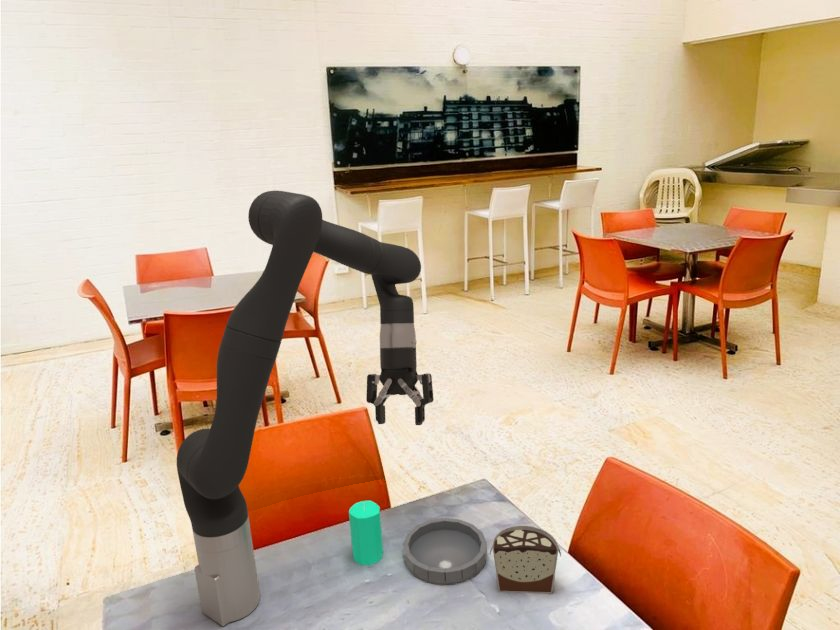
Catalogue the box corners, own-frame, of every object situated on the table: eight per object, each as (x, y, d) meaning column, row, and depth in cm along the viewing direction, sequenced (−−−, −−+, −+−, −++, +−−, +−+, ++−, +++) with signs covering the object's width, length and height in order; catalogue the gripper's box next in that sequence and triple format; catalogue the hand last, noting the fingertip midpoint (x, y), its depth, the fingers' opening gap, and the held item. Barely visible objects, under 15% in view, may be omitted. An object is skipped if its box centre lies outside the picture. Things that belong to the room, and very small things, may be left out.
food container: (556, 570, 111) (557, 524, 108) (560, 594, 105) (561, 546, 103) (490, 568, 113) (489, 522, 110) (490, 592, 107) (489, 544, 104)
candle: (364, 569, 114) (360, 515, 110) (347, 555, 118) (341, 502, 115) (389, 555, 117) (385, 502, 114) (371, 541, 122) (367, 489, 119)
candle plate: (458, 597, 106) (457, 584, 105) (387, 564, 115) (386, 551, 114) (501, 547, 118) (500, 535, 117) (434, 521, 127) (434, 509, 126)
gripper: (359, 347, 123) (361, 426, 122) (422, 345, 118) (424, 427, 117) (375, 346, 130) (377, 421, 129) (436, 344, 124) (438, 422, 124)
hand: (400, 424), depth 123 cm, fingers open, 8 cm apart
